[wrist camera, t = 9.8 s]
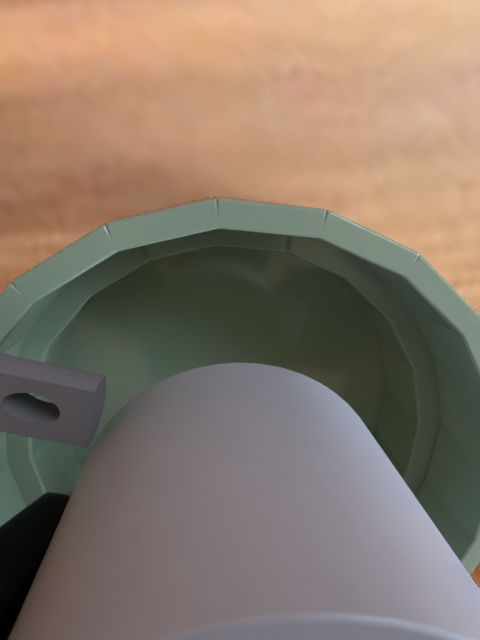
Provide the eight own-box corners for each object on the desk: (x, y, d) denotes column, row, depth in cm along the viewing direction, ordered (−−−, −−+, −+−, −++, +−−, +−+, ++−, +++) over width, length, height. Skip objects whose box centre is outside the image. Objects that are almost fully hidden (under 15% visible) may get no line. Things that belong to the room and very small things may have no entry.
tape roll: (301, 638, 10) (392, 1053, 5) (41, 573, 9) (-153, 1027, 4) (433, 424, 9) (728, 719, 4) (145, 312, 7) (36, 533, 3)
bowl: (308, 579, 16) (352, 743, 11) (-16, 487, 14) (-132, 643, 9) (476, 295, 13) (630, 352, 8) (105, 122, 11) (28, 67, 6)
